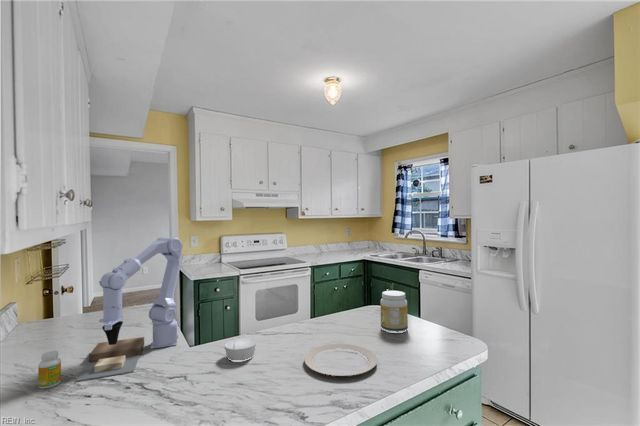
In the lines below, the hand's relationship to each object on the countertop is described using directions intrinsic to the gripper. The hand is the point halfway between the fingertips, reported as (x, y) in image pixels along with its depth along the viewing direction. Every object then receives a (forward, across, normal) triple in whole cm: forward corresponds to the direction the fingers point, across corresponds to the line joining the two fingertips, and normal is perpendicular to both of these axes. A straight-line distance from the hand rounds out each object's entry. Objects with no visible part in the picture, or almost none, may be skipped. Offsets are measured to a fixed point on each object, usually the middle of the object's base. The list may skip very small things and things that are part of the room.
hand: (112, 344), depth 113 cm
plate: (+8, +32, +75) cm, 82 cm away
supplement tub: (+8, +12, +112) cm, 113 cm away
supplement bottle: (+7, +9, -15) cm, 19 cm away
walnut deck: (+7, -10, 0) cm, 12 cm away
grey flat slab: (+7, +3, 0) cm, 8 cm away
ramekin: (+8, +13, +43) cm, 45 cm away
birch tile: (+5, +3, 0) cm, 6 cm away
